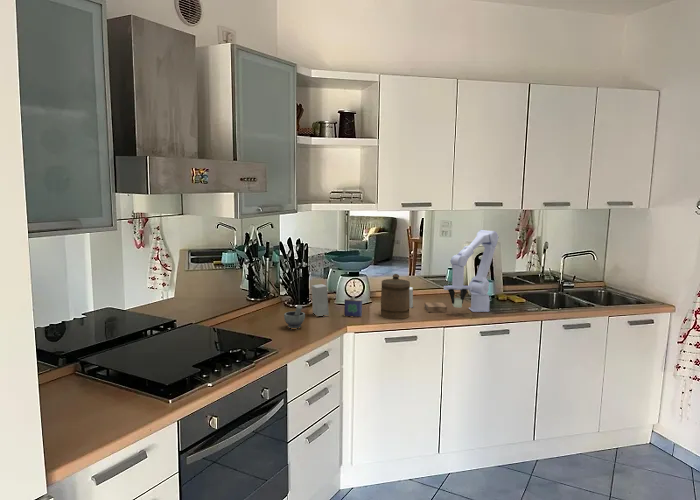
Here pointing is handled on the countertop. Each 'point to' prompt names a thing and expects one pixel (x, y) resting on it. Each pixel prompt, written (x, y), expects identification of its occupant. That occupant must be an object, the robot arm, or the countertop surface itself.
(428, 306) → the base block
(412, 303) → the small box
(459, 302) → the cube
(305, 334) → the countertop surface
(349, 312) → the flask
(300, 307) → the mortar and pestle
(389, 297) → the wooden container
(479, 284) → the robot arm
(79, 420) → the countertop surface
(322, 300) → the skincare box
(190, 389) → the countertop surface
